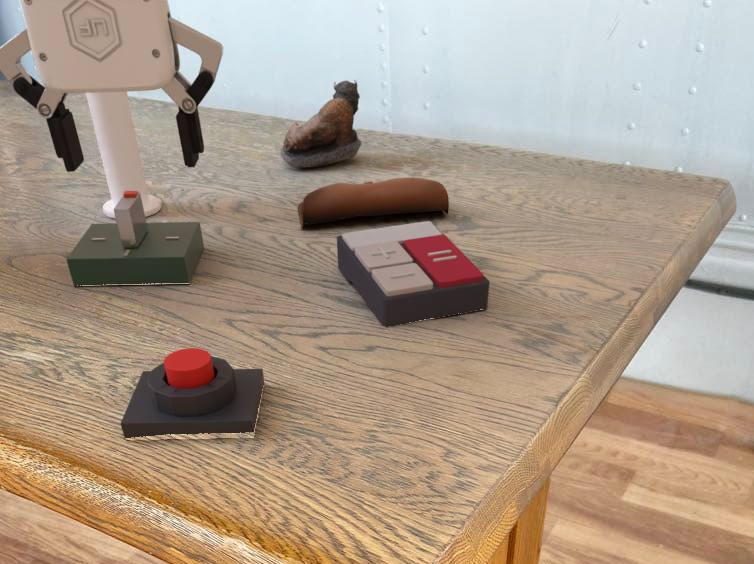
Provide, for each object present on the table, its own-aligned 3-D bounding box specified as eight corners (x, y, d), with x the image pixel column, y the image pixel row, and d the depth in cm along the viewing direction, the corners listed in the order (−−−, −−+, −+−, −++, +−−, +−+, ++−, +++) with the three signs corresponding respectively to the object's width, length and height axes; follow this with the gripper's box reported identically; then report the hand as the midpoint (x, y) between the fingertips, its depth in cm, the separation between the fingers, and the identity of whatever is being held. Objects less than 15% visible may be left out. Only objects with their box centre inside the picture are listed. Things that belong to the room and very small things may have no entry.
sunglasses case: (432, 192, 104) (439, 152, 97) (443, 236, 102) (452, 199, 95) (293, 204, 101) (292, 163, 95) (302, 250, 99) (302, 212, 92)
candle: (125, 197, 104) (71, -38, 88) (172, 203, 103) (126, -36, 86) (92, 216, 99) (28, -30, 83) (141, 222, 98) (85, -28, 81)
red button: (164, 391, 62) (159, 371, 61) (172, 368, 65) (168, 348, 63) (210, 390, 62) (207, 370, 61) (217, 367, 65) (214, 347, 64)
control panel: (74, 287, 84) (65, 257, 82) (98, 250, 91) (91, 222, 89) (189, 285, 84) (183, 255, 82) (204, 248, 92) (199, 220, 89)
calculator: (383, 292, 74) (335, 228, 84) (384, 334, 77) (336, 267, 87) (492, 274, 77) (432, 214, 87) (488, 315, 80) (431, 252, 90)
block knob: (138, 247, 84) (128, 206, 81) (122, 248, 84) (112, 206, 81) (148, 230, 88) (139, 189, 85) (133, 230, 88) (124, 190, 85)
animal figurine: (292, 176, 111) (284, 95, 104) (274, 163, 115) (265, 84, 109) (370, 164, 115) (368, 84, 108) (350, 151, 119) (346, 74, 113)
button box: (125, 441, 62) (114, 403, 60) (147, 388, 68) (137, 351, 66) (254, 439, 62) (248, 400, 60) (264, 386, 68) (259, 348, 66)
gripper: (-74, -92, 52) (14, 183, 64) (192, -99, 53) (233, 175, 64) (-33, -98, 58) (42, 155, 69) (207, -104, 58) (243, 148, 70)
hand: (134, 164), depth 67 cm, fingers open, 9 cm apart
